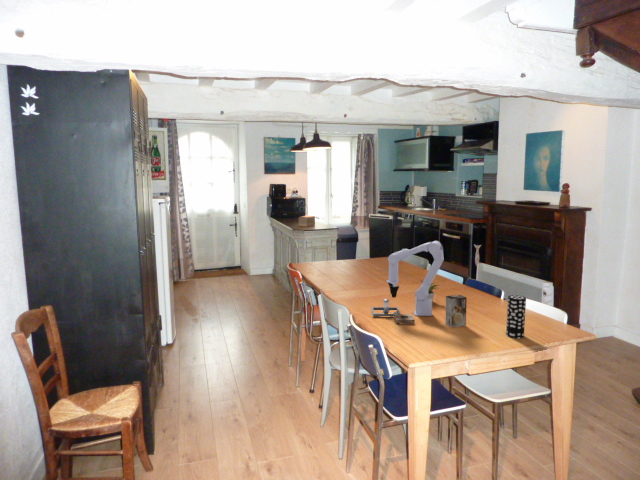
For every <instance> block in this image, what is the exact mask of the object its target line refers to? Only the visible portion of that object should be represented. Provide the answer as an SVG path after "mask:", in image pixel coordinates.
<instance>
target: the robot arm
mask: <svg viewBox="0 0 640 480" xmlns="http://www.w3.org/2000/svg"><path fill="white" fill-rule="evenodd" d="M421 252H426V253H428V252H429V254H431V255H432V257H433V262H432V264H431V265H430V268H429V270H428V272H427V274H426V276H425V278H424V279H423V281H422V282H423V283H422V282H421V285H420V287H419V288H418V289H417V290H416V291H415V293H414V297H415V303H414V304H415V309H414V311H413V313H414V315H415V316H416V317H417V316H418V317H419V316H420V317H421V316H422V317H424V316H426V317H427V316H429V317H431V316H433V302H432V300H431V299H428V297H427V295H428V293H429V288H430V285H431V283H433V282H434V280H435V278H436V276H437V274H438V272H439V270H440V268H441V266H442V264H443V262H444V260H445V258H444V247H443V244H442V243H441V242H440V241H439V240H434V241H428V242H426V243H423V244H420V245H418V246H415V247H413V248H411V249H408V248H402V249H401V250H399V251H395V252H393V253H391V254H389V255H388V258H387V261H388V280H386V283H387V284H388V286H389V292H390V295H391V297H392V298H397V294H398V291H399V289H400V286H399V285H398V283H399V262H402V261H405V260H407V259H410V258H411V257H412V255H415V254H418V253H421Z"/></svg>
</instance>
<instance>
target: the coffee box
mask: <svg viewBox="0 0 640 480" xmlns="http://www.w3.org/2000/svg"><path fill="white" fill-rule="evenodd" d="M467 301H468V300H467V296H464V295H462V294H455V295H454V294H453V295H452V294H451V295H446V296H445V325H446V326H448V327H450V328H459V327H466V326H467Z"/></svg>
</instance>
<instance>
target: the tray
mask: <svg viewBox="0 0 640 480" xmlns="http://www.w3.org/2000/svg"><path fill="white" fill-rule="evenodd" d="M370 307H371V308H370V309H371V310H372V311H371V315H372V314H373V316H394V314H402V313H401V311H400V309H399V307H398V306H395V307H394V306H389V311H390V310H397V311H396V312H394V313H393V314H383V312H382V314H380V313H374V310H383V307H384V306H370ZM390 313H391V312H390ZM373 316H372V317H373Z"/></svg>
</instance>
